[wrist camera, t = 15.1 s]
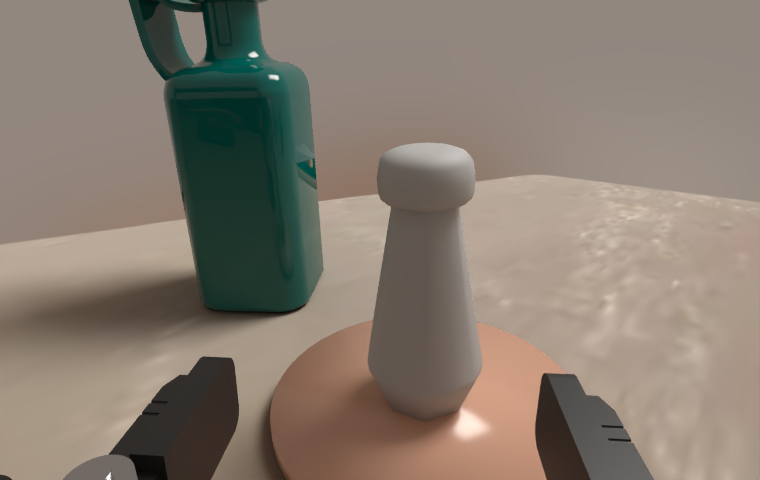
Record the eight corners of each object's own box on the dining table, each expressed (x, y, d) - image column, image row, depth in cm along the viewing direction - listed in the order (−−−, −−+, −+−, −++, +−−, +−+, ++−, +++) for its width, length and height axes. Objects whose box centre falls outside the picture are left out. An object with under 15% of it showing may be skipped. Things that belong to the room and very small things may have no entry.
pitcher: (328, 266, 44) (307, -13, 36) (304, 316, 36) (270, -28, 28) (221, 264, 45) (177, -7, 37) (175, 312, 37) (106, -20, 29)
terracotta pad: (229, 386, 29) (226, 372, 28) (441, 304, 37) (441, 292, 37) (385, 641, 16) (384, 622, 16) (653, 433, 24) (657, 417, 24)
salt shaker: (455, 451, 23) (465, 169, 18) (348, 411, 25) (331, 156, 20) (494, 378, 27) (510, 139, 22) (400, 351, 30) (396, 132, 25)
